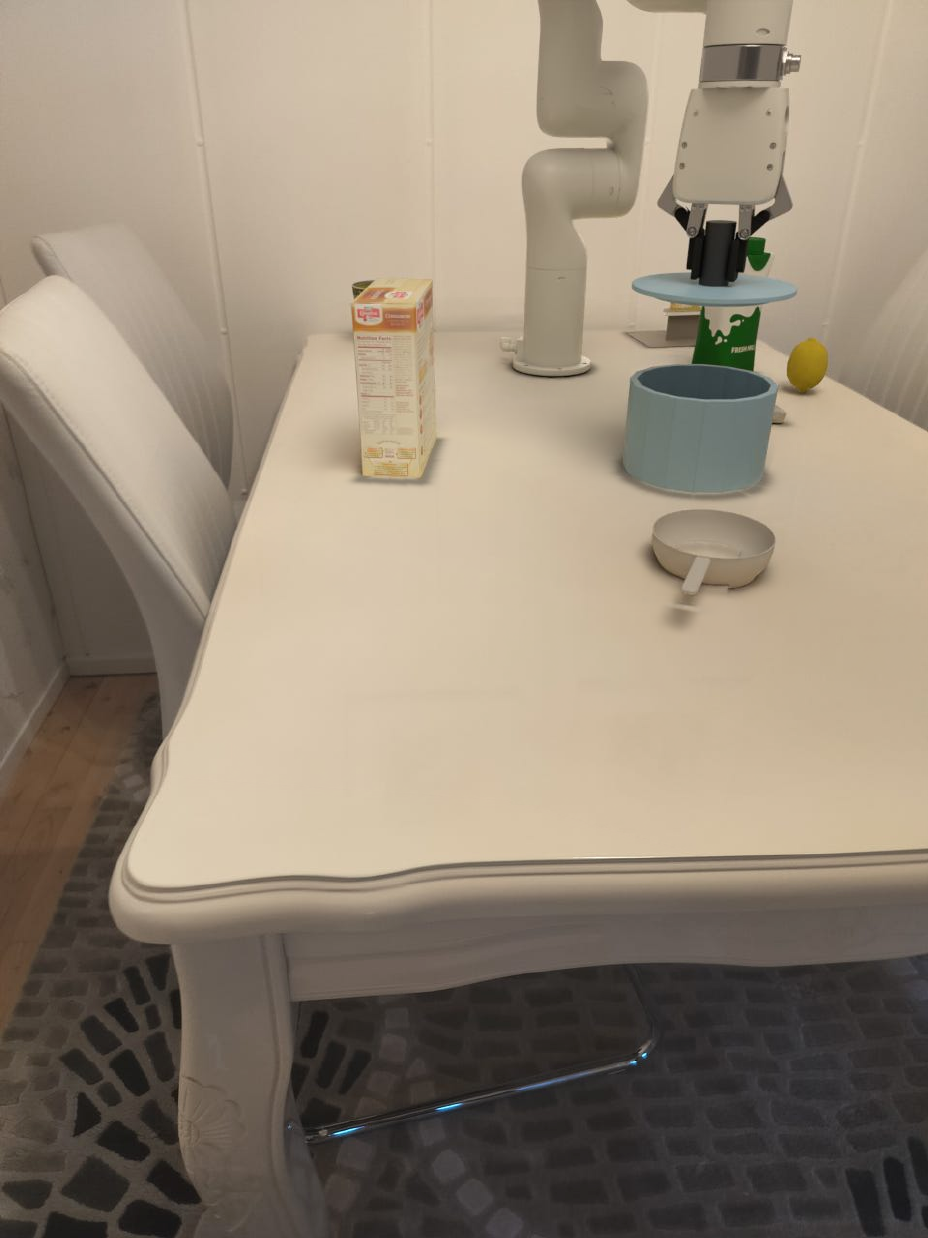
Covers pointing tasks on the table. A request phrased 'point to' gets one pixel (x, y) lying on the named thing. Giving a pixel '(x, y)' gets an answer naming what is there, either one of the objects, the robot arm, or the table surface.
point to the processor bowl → (698, 427)
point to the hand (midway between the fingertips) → (714, 277)
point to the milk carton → (733, 321)
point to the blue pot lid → (715, 278)
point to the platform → (674, 328)
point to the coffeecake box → (395, 375)
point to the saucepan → (719, 530)
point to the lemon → (807, 364)
